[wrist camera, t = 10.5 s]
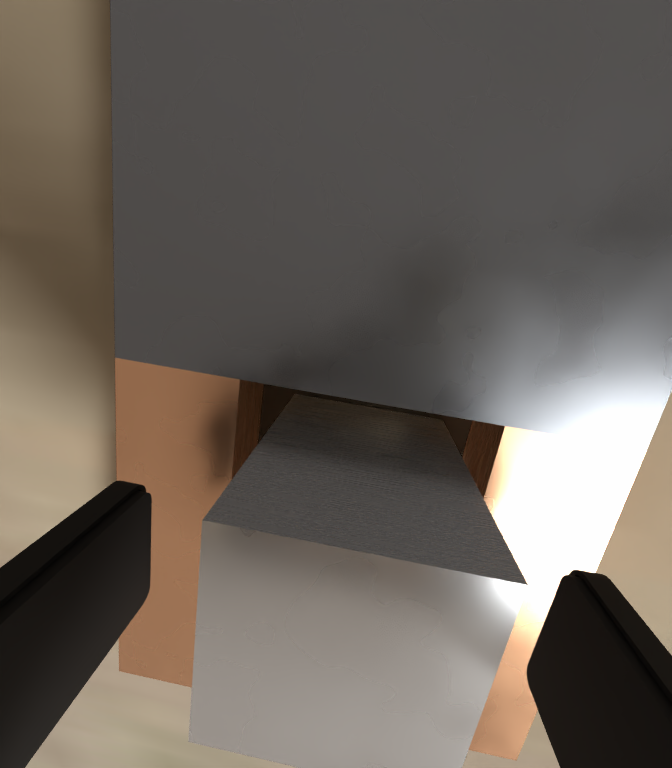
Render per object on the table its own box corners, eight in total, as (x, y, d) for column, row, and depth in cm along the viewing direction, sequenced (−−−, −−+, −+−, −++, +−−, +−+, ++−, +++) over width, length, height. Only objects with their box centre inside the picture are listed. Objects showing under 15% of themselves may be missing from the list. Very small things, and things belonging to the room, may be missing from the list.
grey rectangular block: (442, 419, 12) (528, 584, 5) (411, 545, 13) (449, 802, 7) (295, 393, 12) (202, 520, 6) (279, 518, 14) (188, 741, 7)
